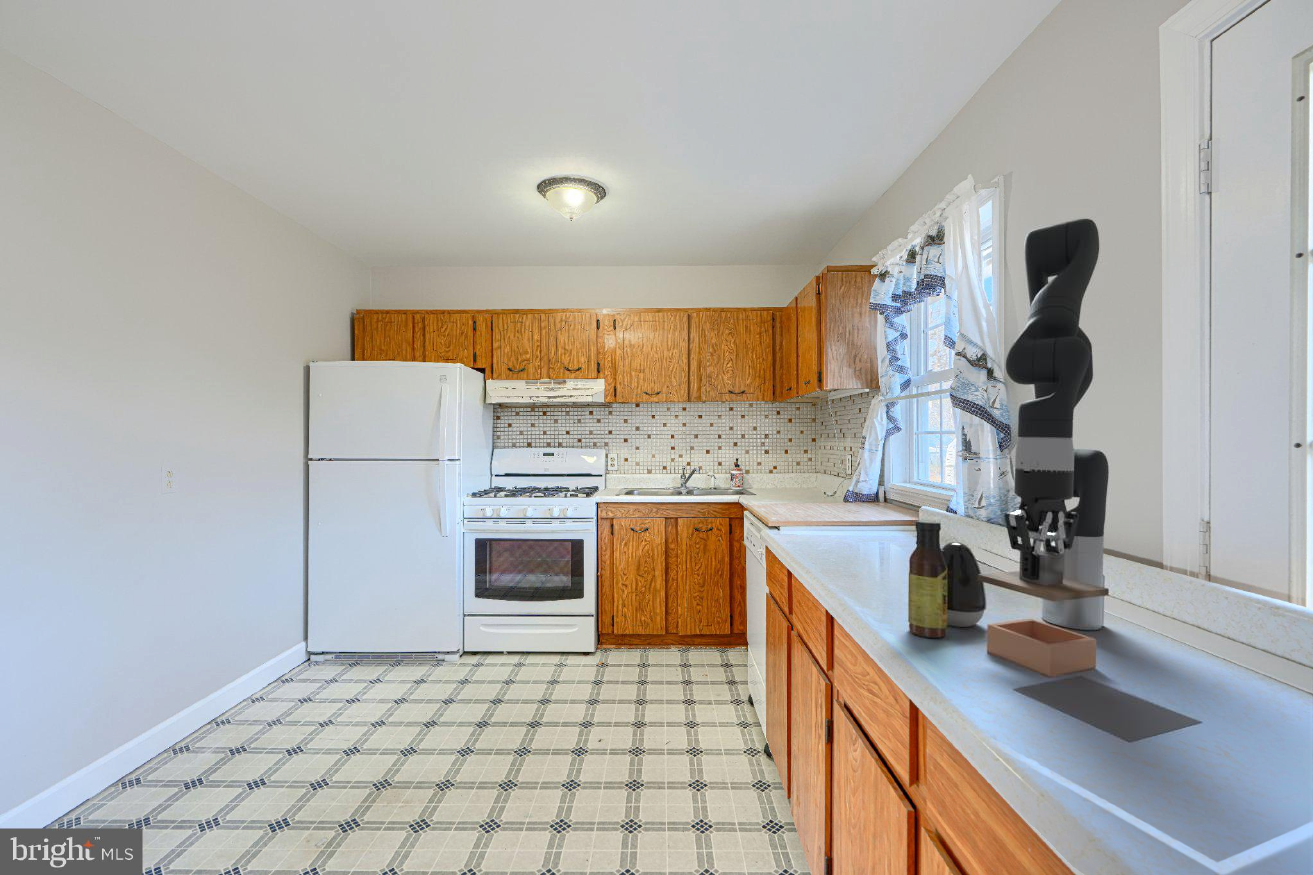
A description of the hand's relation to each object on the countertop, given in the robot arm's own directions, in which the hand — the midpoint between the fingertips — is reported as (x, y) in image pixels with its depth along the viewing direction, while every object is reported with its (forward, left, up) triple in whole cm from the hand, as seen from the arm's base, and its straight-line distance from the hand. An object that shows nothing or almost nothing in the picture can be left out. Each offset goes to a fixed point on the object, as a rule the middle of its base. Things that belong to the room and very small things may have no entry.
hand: (1040, 577), depth 87 cm
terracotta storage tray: (0, 0, -13) cm, 13 cm away
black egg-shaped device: (-4, -19, -14) cm, 24 cm away
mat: (+7, +13, -13) cm, 20 cm away
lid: (0, 0, -2) cm, 2 cm away
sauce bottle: (+6, -16, -14) cm, 22 cm away
